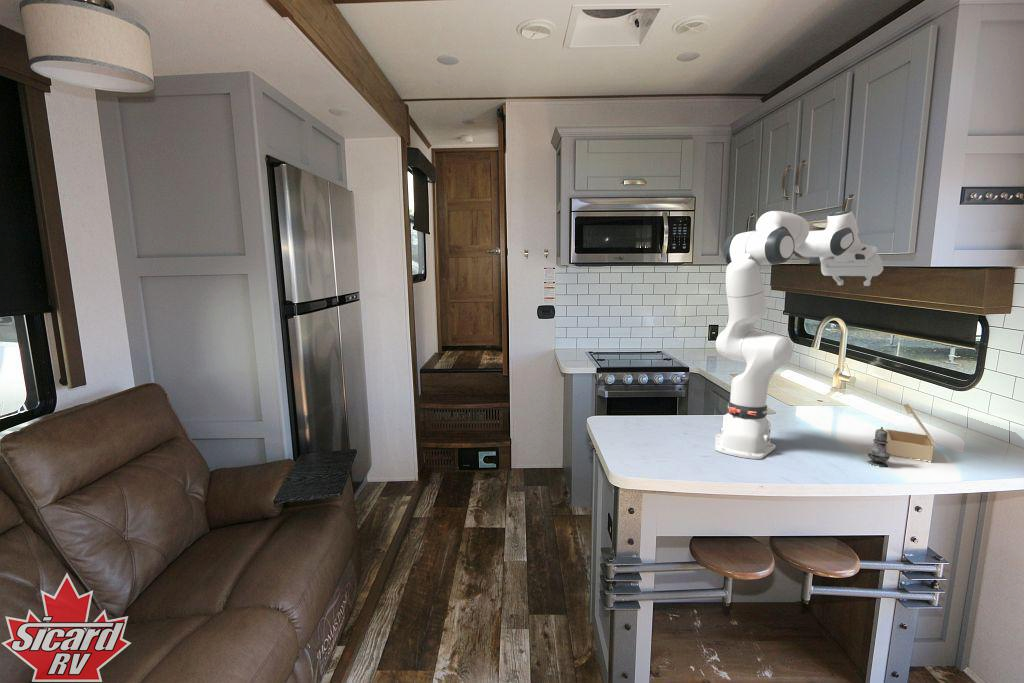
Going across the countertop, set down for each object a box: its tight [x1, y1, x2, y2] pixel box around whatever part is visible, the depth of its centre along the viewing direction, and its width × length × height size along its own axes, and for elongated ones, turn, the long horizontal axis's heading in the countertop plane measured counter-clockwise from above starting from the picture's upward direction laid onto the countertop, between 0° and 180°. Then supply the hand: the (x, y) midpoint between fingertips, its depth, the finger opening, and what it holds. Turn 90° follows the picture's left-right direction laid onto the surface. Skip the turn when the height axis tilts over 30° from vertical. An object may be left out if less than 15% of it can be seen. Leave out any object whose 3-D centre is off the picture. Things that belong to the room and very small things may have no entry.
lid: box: [903, 403, 937, 447], centre depth 157 cm, size 14×12×1 cm
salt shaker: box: [866, 426, 892, 468], centre depth 148 cm, size 6×6×12 cm
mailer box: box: [885, 428, 934, 461], centre depth 159 cm, size 14×11×5 cm
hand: (853, 285), depth 184 cm, fingers open, 8 cm apart
